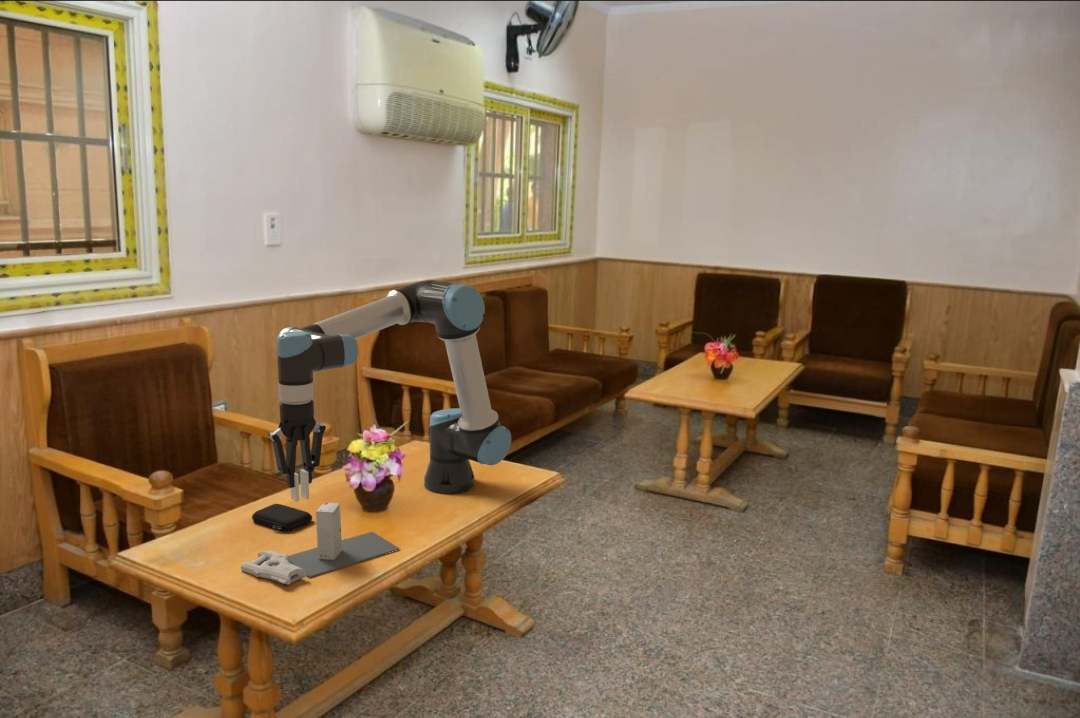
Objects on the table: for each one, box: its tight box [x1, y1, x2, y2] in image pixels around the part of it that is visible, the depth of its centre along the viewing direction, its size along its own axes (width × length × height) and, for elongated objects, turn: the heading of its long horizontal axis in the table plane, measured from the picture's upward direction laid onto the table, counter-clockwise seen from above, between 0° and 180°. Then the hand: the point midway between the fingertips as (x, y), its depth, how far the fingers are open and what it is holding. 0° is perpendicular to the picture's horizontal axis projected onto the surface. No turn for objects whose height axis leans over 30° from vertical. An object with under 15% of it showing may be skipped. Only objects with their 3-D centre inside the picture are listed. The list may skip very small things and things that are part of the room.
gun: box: [240, 549, 307, 586], centre depth 194 cm, size 18×3×10 cm
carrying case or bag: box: [251, 503, 313, 532], centre depth 221 cm, size 11×3×15 cm
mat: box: [288, 531, 401, 579], centre depth 204 cm, size 24×13×1 cm, turn 132°
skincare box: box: [315, 502, 342, 560], centre depth 201 cm, size 6×4×12 cm
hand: (300, 498), depth 194 cm, fingers open, 2 cm apart
